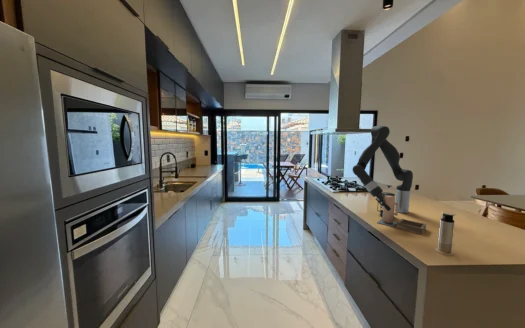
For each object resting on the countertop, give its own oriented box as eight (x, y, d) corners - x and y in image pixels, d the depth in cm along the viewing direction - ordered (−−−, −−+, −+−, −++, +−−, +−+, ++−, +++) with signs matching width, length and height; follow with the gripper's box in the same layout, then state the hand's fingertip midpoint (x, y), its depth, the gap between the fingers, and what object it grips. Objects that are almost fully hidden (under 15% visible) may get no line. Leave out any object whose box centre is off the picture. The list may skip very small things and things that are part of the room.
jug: (383, 218, 156) (385, 194, 154) (398, 222, 150) (400, 197, 148) (380, 221, 151) (382, 196, 149) (395, 224, 145) (397, 199, 143)
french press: (394, 215, 168) (396, 184, 165) (395, 219, 159) (398, 187, 157) (376, 213, 172) (378, 183, 170) (377, 216, 164) (379, 185, 161)
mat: (382, 219, 158) (382, 218, 158) (398, 223, 151) (398, 222, 151) (377, 223, 151) (377, 222, 151) (393, 227, 144) (393, 226, 144)
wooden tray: (401, 223, 150) (401, 218, 150) (425, 229, 141) (426, 224, 141) (396, 228, 143) (397, 222, 142) (422, 234, 133) (422, 228, 133)
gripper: (374, 187, 149) (392, 208, 142) (381, 184, 159) (399, 203, 152) (365, 193, 153) (383, 214, 146) (373, 190, 163) (389, 209, 156)
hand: (391, 208), depth 149 cm, fingers closed on jug, 6 cm apart
